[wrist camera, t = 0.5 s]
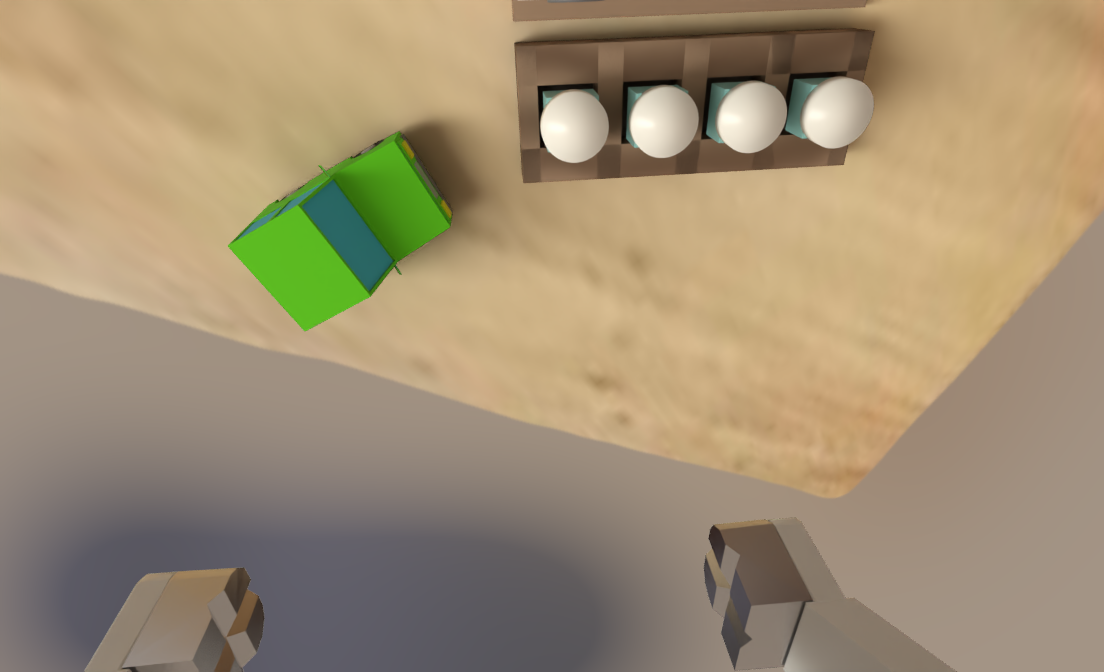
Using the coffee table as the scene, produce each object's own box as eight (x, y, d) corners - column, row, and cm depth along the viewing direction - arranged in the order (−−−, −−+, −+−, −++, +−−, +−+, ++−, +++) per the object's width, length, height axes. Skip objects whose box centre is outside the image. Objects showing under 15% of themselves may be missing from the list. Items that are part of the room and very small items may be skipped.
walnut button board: (514, 42, 44) (515, 46, 42) (853, 28, 46) (874, 31, 43) (522, 172, 50) (523, 183, 47) (826, 155, 51) (843, 164, 49)
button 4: (788, 72, 44) (816, 80, 41) (849, 69, 45) (881, 77, 41) (778, 136, 47) (802, 150, 43) (835, 133, 47) (864, 146, 44)
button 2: (621, 80, 44) (633, 89, 40) (684, 77, 44) (701, 86, 40) (619, 145, 46) (631, 159, 42) (678, 142, 46) (695, 156, 43)
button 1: (535, 84, 43) (540, 94, 40) (599, 81, 44) (609, 90, 40) (538, 149, 46) (542, 164, 42) (598, 146, 46) (608, 161, 42)
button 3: (705, 76, 44) (725, 85, 40) (767, 73, 44) (792, 81, 41) (699, 141, 47) (717, 154, 43) (757, 137, 47) (780, 151, 43)
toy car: (464, 217, 51) (459, 264, 43) (342, 284, 54) (313, 341, 45) (396, 111, 46) (375, 139, 38) (264, 190, 49) (216, 233, 40)
